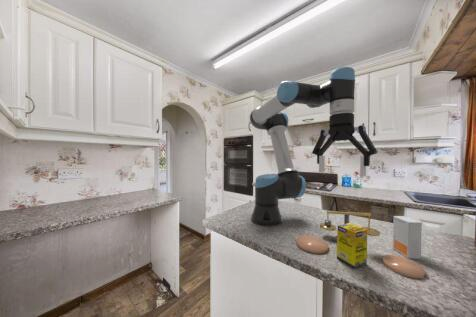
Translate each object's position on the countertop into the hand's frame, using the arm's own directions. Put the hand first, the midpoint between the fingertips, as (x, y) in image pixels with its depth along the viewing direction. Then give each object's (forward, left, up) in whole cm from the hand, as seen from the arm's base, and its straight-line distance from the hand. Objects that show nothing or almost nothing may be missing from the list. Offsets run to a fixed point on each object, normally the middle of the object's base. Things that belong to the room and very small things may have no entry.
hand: (340, 174), depth 61 cm
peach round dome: (-7, -6, -27) cm, 28 cm away
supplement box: (+6, -5, -27) cm, 28 cm away
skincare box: (+15, +15, -27) cm, 34 cm away
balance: (0, +6, -27) cm, 27 cm away
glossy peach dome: (+16, +4, -27) cm, 31 cm away
